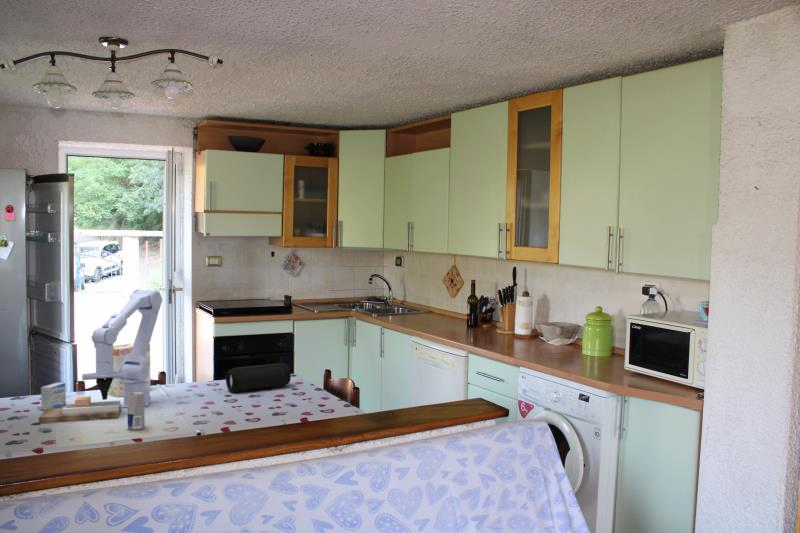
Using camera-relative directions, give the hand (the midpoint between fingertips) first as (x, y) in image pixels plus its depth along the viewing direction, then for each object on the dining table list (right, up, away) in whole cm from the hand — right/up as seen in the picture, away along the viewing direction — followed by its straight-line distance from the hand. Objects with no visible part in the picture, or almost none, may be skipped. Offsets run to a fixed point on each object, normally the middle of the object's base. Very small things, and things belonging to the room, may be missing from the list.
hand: (104, 399), depth 247 cm
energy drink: (+17, -7, -15) cm, 24 cm away
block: (-7, -4, -2) cm, 8 cm away
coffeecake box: (-4, -4, +34) cm, 34 cm away
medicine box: (-23, -5, +9) cm, 25 cm away
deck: (-7, -6, -2) cm, 10 cm away
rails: (-4, -4, -1) cm, 6 cm away
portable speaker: (+46, -4, +43) cm, 63 cm away
